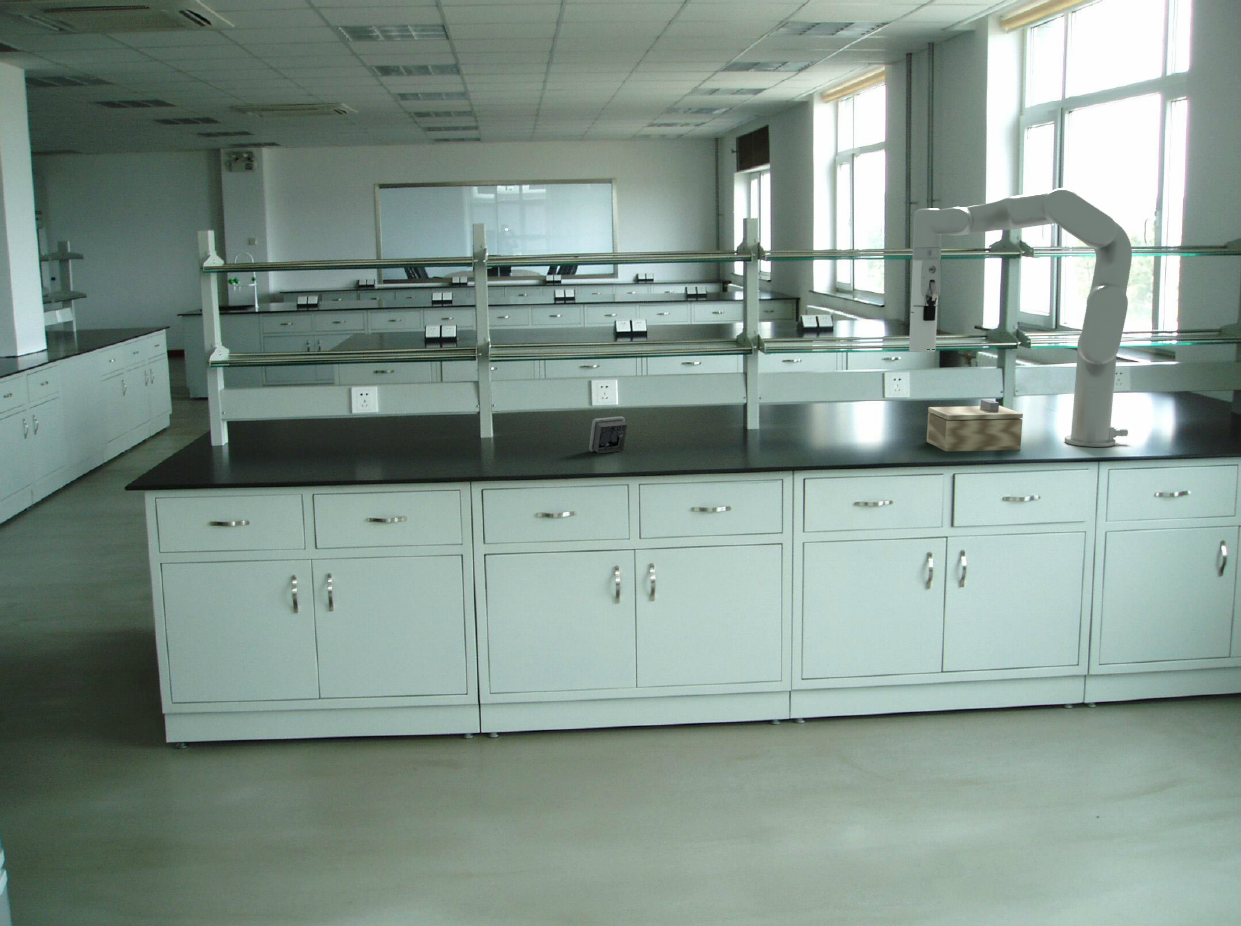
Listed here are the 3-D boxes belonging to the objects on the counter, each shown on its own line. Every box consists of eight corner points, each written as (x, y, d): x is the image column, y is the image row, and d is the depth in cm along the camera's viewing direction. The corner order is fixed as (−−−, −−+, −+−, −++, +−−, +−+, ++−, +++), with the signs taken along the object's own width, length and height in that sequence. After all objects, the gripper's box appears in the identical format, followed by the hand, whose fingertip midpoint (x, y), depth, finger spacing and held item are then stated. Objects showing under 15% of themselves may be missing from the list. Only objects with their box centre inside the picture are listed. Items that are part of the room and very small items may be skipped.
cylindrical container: (924, 352, 295) (928, 260, 290) (903, 351, 300) (907, 260, 295) (940, 351, 299) (945, 259, 294) (920, 349, 304) (923, 259, 299)
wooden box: (997, 439, 294) (999, 411, 292) (1020, 449, 280) (1022, 419, 279) (926, 441, 292) (928, 412, 291) (946, 451, 279) (947, 421, 277)
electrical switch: (619, 448, 288) (620, 414, 285) (628, 453, 284) (629, 419, 281) (588, 451, 284) (589, 417, 281) (597, 456, 279) (598, 422, 277)
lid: (999, 410, 292) (1000, 396, 292) (1022, 418, 279) (1023, 404, 278) (928, 411, 291) (928, 398, 290) (947, 420, 277) (948, 406, 276)
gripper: (952, 254, 286) (948, 321, 290) (928, 254, 303) (925, 317, 307) (924, 255, 285) (921, 322, 289) (902, 254, 302) (900, 317, 306)
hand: (923, 319), depth 298 cm, fingers closed on cylindrical container, 7 cm apart
